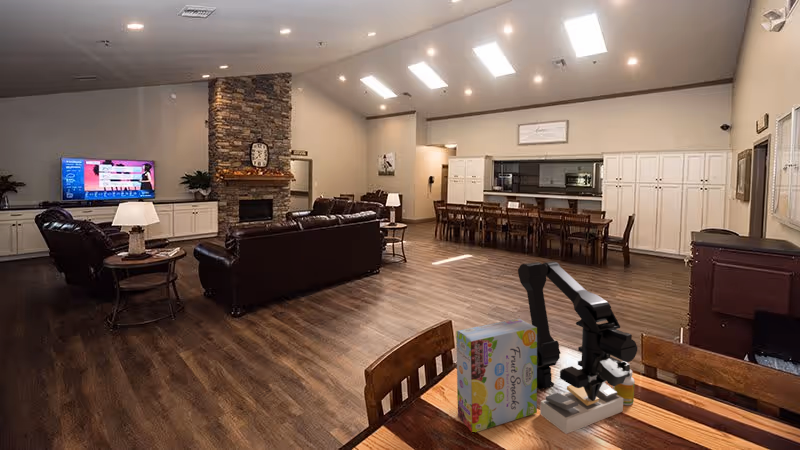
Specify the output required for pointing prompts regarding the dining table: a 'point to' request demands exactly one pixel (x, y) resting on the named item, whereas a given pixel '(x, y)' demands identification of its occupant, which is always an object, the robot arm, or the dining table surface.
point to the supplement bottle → (626, 390)
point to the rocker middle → (581, 395)
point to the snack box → (496, 373)
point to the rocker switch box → (580, 412)
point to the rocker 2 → (607, 391)
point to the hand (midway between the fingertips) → (591, 400)
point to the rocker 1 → (562, 401)
